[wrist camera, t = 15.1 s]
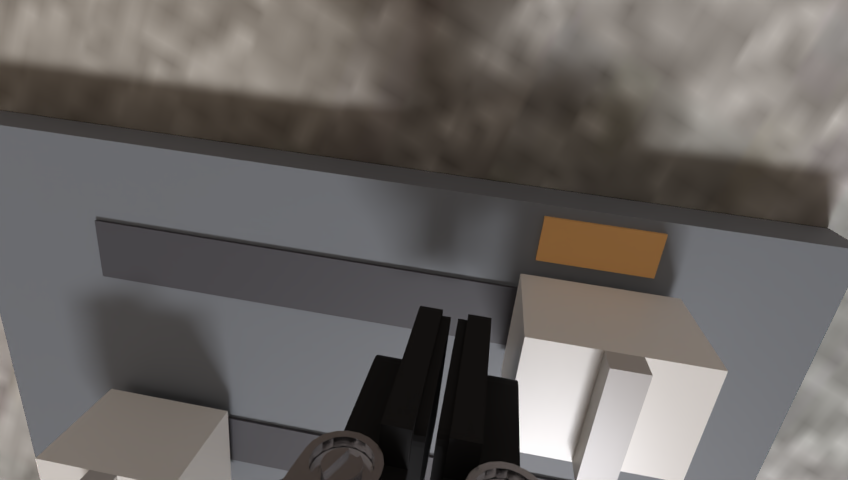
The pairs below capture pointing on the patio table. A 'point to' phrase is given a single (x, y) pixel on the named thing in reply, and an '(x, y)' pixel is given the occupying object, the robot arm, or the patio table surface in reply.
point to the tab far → (141, 442)
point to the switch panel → (354, 283)
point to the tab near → (609, 378)
